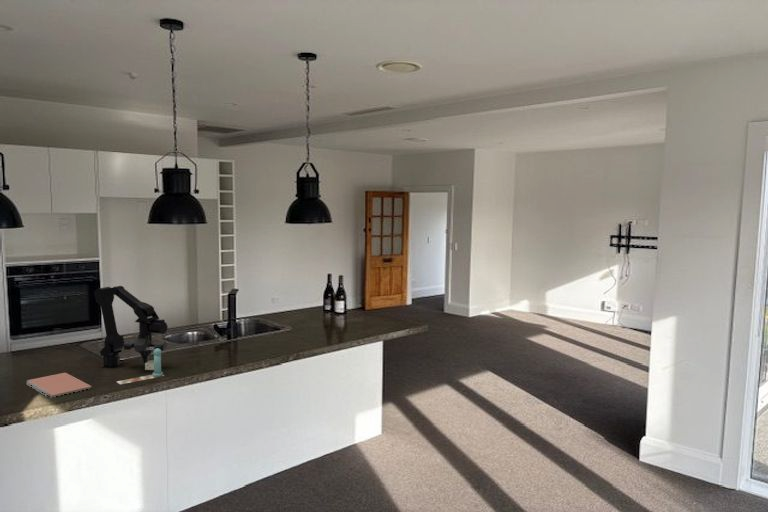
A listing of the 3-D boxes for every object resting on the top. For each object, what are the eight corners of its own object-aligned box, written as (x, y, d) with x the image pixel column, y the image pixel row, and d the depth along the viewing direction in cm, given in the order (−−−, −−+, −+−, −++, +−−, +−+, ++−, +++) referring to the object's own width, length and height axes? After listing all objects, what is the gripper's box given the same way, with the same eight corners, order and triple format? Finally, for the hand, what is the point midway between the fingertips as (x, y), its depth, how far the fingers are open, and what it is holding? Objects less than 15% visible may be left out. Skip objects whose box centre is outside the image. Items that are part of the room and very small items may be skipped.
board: (119, 388, 238) (119, 385, 238) (114, 384, 242) (114, 381, 242) (166, 378, 252) (166, 375, 252) (160, 375, 257) (160, 372, 257)
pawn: (151, 376, 250) (150, 349, 249) (154, 373, 255) (154, 347, 253) (160, 376, 250) (160, 349, 249) (164, 373, 255) (163, 347, 253)
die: (144, 372, 260) (144, 362, 259) (149, 369, 264) (148, 360, 264) (154, 372, 260) (154, 363, 259) (158, 369, 264) (158, 360, 264)
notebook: (24, 384, 239) (24, 380, 239) (65, 376, 253) (65, 371, 252) (49, 400, 223) (49, 395, 222) (91, 390, 236) (91, 385, 236)
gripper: (118, 335, 252) (118, 367, 254) (158, 336, 253) (158, 369, 254) (128, 329, 263) (129, 360, 265) (167, 331, 264) (167, 362, 265)
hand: (145, 363), depth 262 cm, fingers closed
